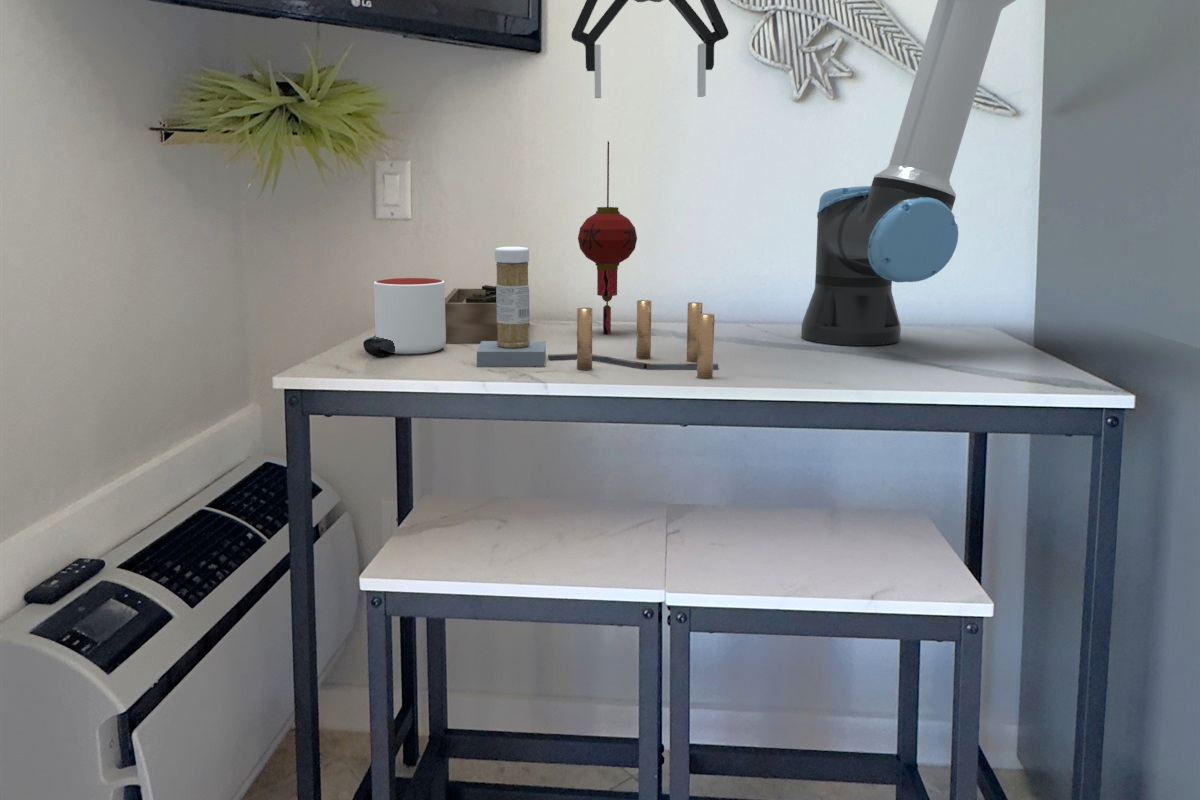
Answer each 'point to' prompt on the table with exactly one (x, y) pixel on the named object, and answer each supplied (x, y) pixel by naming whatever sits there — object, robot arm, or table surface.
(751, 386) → the table surface
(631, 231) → the lantern
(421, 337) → the cup
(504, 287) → the sprinkles bottle
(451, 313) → the camera corral
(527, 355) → the pad
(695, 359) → the wire course
